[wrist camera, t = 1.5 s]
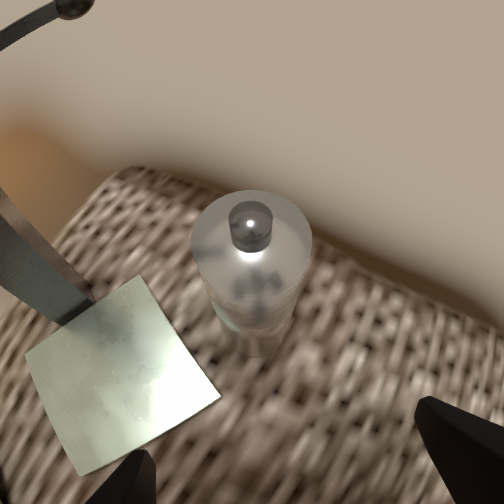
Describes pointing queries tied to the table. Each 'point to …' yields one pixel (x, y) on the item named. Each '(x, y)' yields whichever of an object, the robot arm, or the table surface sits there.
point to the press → (96, 334)
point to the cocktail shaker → (252, 266)
